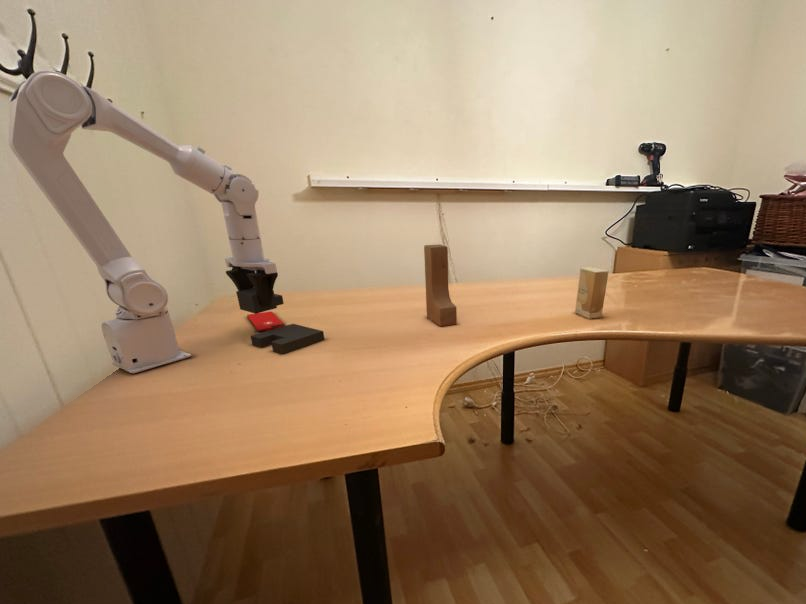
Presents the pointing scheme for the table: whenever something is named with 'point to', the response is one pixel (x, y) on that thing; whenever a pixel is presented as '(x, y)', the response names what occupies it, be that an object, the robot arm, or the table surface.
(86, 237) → the robot arm
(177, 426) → the table surface
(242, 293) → the pad
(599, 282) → the cosmetic box
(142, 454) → the table surface
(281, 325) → the electronic device
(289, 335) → the base pad
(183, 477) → the table surface
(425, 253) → the wooden block
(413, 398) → the table surface
